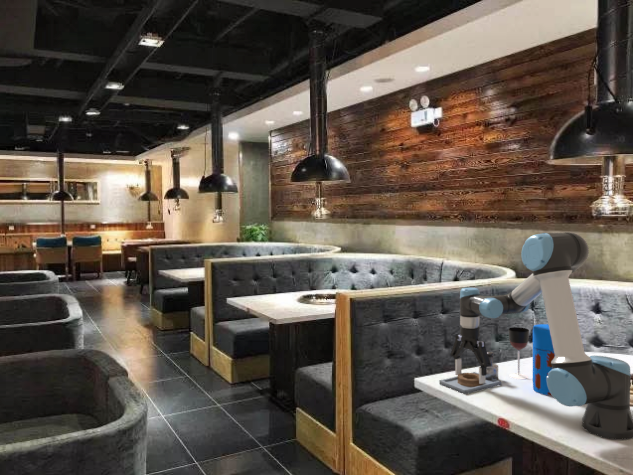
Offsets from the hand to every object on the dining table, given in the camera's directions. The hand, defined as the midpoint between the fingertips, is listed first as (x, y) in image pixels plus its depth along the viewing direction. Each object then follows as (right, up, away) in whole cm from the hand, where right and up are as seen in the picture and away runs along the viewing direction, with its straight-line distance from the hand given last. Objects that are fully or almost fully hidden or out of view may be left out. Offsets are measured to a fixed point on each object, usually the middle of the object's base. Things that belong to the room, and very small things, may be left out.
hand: (470, 378), depth 213 cm
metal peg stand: (+10, -2, +6) cm, 12 cm away
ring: (0, -2, 0) cm, 2 cm away
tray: (0, -2, 0) cm, 2 cm away
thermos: (+28, -3, -8) cm, 29 cm away
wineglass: (+23, -2, +9) cm, 25 cm away
